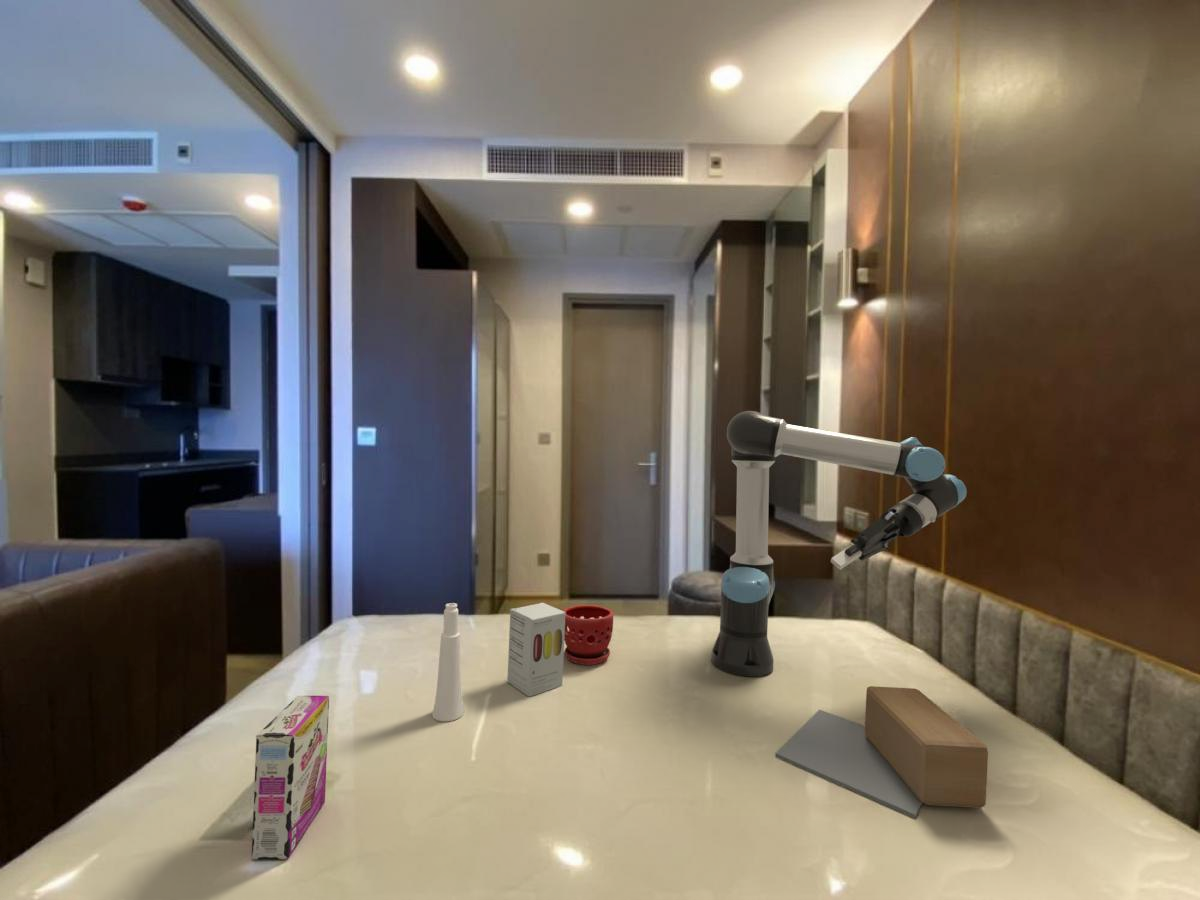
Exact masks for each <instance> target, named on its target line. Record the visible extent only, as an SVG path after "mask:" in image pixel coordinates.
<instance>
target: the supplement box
mask: <svg viewBox="0 0 1200 900" xmlns="http://www.w3.org/2000/svg"><path fill="white" fill-rule="evenodd" d="M509 611H510V612H509V629H508V630H509V632H508V633H509V634H508V635H509V636H508V637H509V638H508V655H507V656H508V657H507V658H508V659H507V678H506V679H507V683H509V684H510V685H512V686H513V687H515V688H516V689H517V690H519V692H521V693H523V694H525V695H526V696H527V697H529V698H530V697H532V696H536V695H539V694H542V693H544V692H547V691H550V690H553V689H556V688H560V687H562V686H563V680H564V679H563V677H564V676H563V675H564V656H565V641H564V634H565V612H563V611H564V610H561V609H559V608H556V607H554V606H552V605H550V604H547V603H546V602H539V603H535V604H530V605H526V606H521V607H516V608H510V610H509Z"/></svg>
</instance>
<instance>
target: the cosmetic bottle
mask: <svg viewBox="0 0 1200 900" xmlns="http://www.w3.org/2000/svg"><path fill="white" fill-rule="evenodd" d="M457 607H458V603H455V602H451V603H446V604H445V609H443V632H442V633H441V635H440V643H439V657H438V667H437V668H438V669H437V683H436V692H435V693H436V694H435V699H434V705H433V710H432V717H433V719H434V720H436V721H438V722H441V723H442V722H445V723H446V722H453V721H456V720H458V719H460V718H461V717H463V715H464V713H465V710H464V703H463V701H464V700H463V693H462V675H461V674H462V672H461V669H462V668H461V663H462V662H461V659H462V658H461V633H460V631H459V609H458V608H457Z"/></svg>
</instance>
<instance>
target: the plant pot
mask: <svg viewBox="0 0 1200 900" xmlns="http://www.w3.org/2000/svg"><path fill="white" fill-rule="evenodd" d="M562 611H563V612H565V634H564V645H566V647H565V648H564V656H565V657H566V658H567V659H568V660H569V661H571V662H573V663H575V664H579V665H587V666H588V665H596V664H597V665H598V664H601V663H602V662H605V661H606V660H607V659H608V658H609V657H610V654H611V649H610V648H609V645H610V643H611V640H612V636H613V630H614V613H613V611H612V610H611V609H609V608H607V607H604V606H601V605H600V606H599V605H591V604H589V605H588V604H587V605H586V604H584V605H583V604H582V605H575V606H571V607H567V608H565V609H564V610H562ZM582 617H583V618H582Z"/></svg>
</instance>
